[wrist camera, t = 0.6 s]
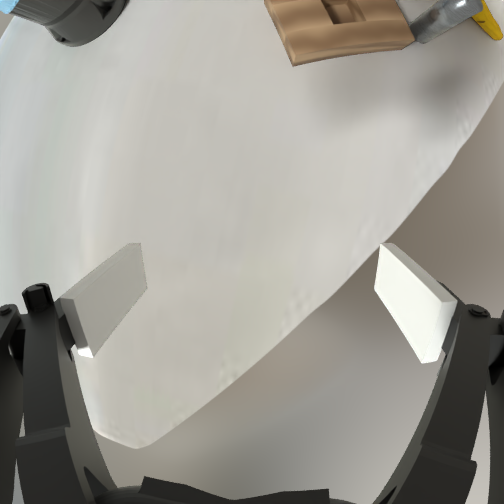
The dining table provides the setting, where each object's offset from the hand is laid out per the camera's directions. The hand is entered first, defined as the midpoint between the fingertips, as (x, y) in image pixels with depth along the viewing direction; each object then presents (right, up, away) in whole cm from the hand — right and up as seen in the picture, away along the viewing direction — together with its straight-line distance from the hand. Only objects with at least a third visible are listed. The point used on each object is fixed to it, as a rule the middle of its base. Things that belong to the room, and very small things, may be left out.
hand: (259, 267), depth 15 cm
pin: (+26, +36, +14) cm, 46 cm away
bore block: (+12, +34, +15) cm, 39 cm away
